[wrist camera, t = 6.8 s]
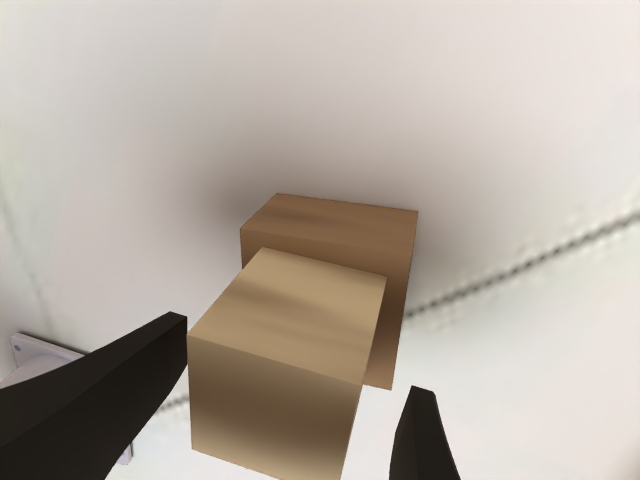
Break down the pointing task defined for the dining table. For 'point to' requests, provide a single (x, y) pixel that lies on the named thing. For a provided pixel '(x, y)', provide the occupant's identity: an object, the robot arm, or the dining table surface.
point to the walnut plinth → (345, 255)
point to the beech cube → (283, 365)
